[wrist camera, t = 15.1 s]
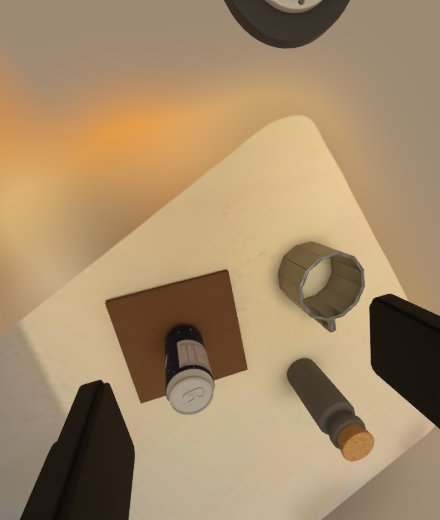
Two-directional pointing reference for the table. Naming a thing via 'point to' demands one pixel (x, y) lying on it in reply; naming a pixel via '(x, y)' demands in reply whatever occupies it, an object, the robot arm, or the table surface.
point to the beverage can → (187, 371)
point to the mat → (174, 315)
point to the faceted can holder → (337, 290)
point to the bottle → (330, 410)
